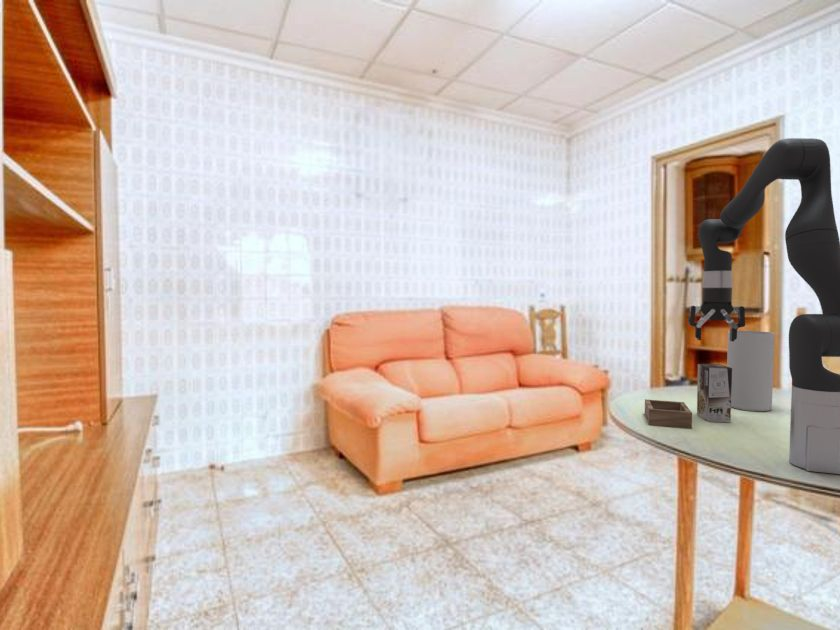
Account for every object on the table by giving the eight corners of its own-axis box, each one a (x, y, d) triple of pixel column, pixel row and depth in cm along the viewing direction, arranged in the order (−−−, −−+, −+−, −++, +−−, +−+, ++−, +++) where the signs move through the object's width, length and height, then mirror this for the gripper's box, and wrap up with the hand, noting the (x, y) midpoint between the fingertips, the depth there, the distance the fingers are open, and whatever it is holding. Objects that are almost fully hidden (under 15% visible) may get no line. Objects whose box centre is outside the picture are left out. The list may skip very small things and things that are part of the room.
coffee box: (731, 423, 138) (733, 368, 138) (707, 421, 140) (708, 367, 139) (718, 415, 147) (720, 363, 146) (695, 414, 148) (697, 362, 148)
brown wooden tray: (691, 428, 132) (692, 412, 132) (648, 424, 136) (649, 409, 136) (683, 416, 145) (683, 402, 145) (644, 413, 149) (644, 399, 149)
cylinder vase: (726, 409, 155) (728, 332, 154) (725, 401, 166) (727, 330, 165) (774, 414, 149) (776, 334, 147) (769, 405, 159) (771, 331, 158)
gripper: (692, 286, 140) (690, 341, 141) (749, 286, 135) (747, 342, 136) (687, 286, 147) (686, 338, 148) (741, 286, 142) (739, 340, 143)
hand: (715, 340), depth 142 cm, fingers open, 8 cm apart
